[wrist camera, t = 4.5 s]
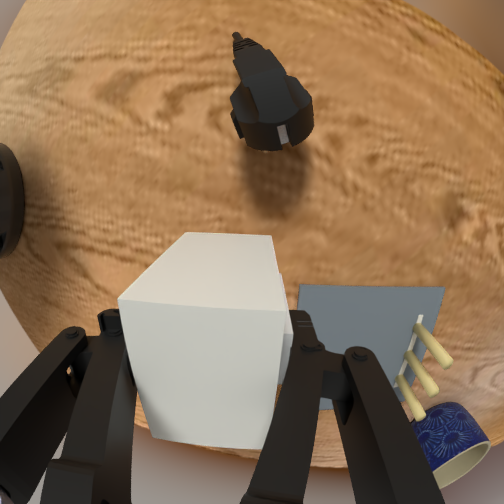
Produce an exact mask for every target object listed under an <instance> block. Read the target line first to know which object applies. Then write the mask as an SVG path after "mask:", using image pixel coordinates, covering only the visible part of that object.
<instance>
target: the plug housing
mask: <svg viewBox="0 0 504 504" xmlns="http://www.w3.org/2000/svg"><path fill="white" fill-rule="evenodd" d="M118 306H119V311H120V317H121V322H122V328H123V333H124V337H125V342H126V347H127V351H128V355H129V360H130V364H131V368H132V372H133V376H134V379H135V383H136V387H137V390H138V394H139V397H140V400H141V404H142V407H143V410H144V413H145V416H146V419H147V422H148V425H149V428H150V431H151V433H152V437H153V438H158V439H164V440H169V441H176V442H181V443H188V444H195V445H204V446H213V447H224V448H238V449H262V448H263V445H264V442H265V439H266V436H267V433H268V430H269V427H270V424H271V421H272V418H273V411H274V404H275V397H276V390H277V382H278V375H279V367H280V359H281V351H282V343H283V334H284V325H285V316H286V308H285V303H284V297H283V292H282V287H281V282H280V277H279V271H278V266H277V261H276V256H275V251H274V246H273V241H272V236H270V235H248V234H224V233H197V232H185V233H184V234H183V235H182V236H181V237H180V238H179V239H178V240H177V241H176V242H175V243H174V244H173V245H172V246H170V247H169V248H168V249H167V250H166V251H165V252H164V253H163V254H162V255H161V256H160V257H159V258H158V259H157V260H156V261H155V262H154V263H153V264H152V265H151V266H150V267H149V268H148V269H146V270H145V271H144V272H143V273H142V274H141V275H140V276H139V277H138V278H137V279H136V280H135V281H134V282H133V283H132V284H131V285H130V286H129V287H128V288H127V289H126V290H125V291H124V292H123V293H122V294H121V295H120V297H119V298H118Z"/></svg>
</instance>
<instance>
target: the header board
mask: <svg viewBox="0 0 504 504" xmlns="http://www.w3.org/2000/svg"><path fill="white" fill-rule="evenodd" d="M444 292H445V287H382V286H336V285H305V284H300V285H299V295H298V304H297V310H305V311H306V312H307V313H308V314H309V315H310V317H311V320H312V323H313V326H314V329H315V332H316V335H317V338H318V341H320V342H322V343H323V344H324V345H325V350H327V351H330V352H333V353H338V354H344V352H345V351H346V349H348V348H349V347H353V346H362V347H365V348H368V349H370V350H371V351H372V352H373V353H374V354H375V356H376V357H377V359H378V361H379V363H380V365H381V367H382V369H383V370H384V372H385V374H386V376H387V378H388V380H389V382H390V384H391V386H392V388H393V390H394V392H395V393H396V395H397V397H398V399H399V401H400V402H402V401H405V400H406V402H407V404H408V406H409V408H410V410H411V412H412V414H413V415H414V417H415V419H416V421H421V420H423V419H424V418H425V417H426V413H425V411H424V410H423V408H422V406H421V404H420V402H419V401H418V399H417V397H416V395H415V394H414V392H413V390H412V388H411V386H412V383H413V381H414V379H415V377H416V376H417V378H418V380H419V381H420V383H421V384H422V386H423V387H424V389H425V391H426V392H427V394H428V396H429V397H430V398H432V397H435V396H436V395H437V394H438V393H439V388H438V386H437V385H436V383H435V382H434V381H433V379H432V378H431V376H430V375H429V373H428V372H427V370H426V369H425V368H424V366H423V365H422V363H421V362H422V359H423V357H424V354H425V352H426V349H428V350H429V351H430V352H431V354H432V355H433V356H434V358H435V359H436V360H437V361H438V363H439V364H440V365H441V367H442V368H443V369H448V368H449V367H450V366H451V365H452V364H453V359H452V358H451V357H450V355H449V354H448V353H447V352H446V351H445V350H444V348H443V347H442V346H441V345H440V344H439V343H438V342H437V340H436V339H435V338H434V337H433V336H432V332H433V329H434V326H435V323H436V320H437V316H438V313H439V310H440V306H441V303H442V299H443V296H444ZM327 409H334V408H333V404H332V399H326V398H320V406H319V410H327Z"/></svg>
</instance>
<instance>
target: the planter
mask: <svg viewBox="0 0 504 504" xmlns="http://www.w3.org/2000/svg"><path fill="white" fill-rule="evenodd" d="M425 413H426V417H425V418H424V419H423V420H421V421H416V419H415V420H414V421H413V422H412V423H411V426H412V428H413V430H414V432H415V434H416V436H417V439H418V441H419V443H420V445H421V447H422V449H423V452H424V454H425V456H426V458H427V461H428V463H429V465H430V467H431V470H432V472H433V474H434V477H435V479H436V482H437V484H438V486H439V489H441V488H443V487H445V486H447V485H449V484H451V483H452V482H454V481H456V480H457V479H459V478H460V477H462V476H463V475H465V474H466V473H467V472H468V471H470V470H471V469H472V468H473V467H474V466H475V465H477V464H478V463H479V462H480V461H481V460H482V459H483V457H484V456H485V455H486V454H487V452H488V450H489V449H490V446H491V442H490V441H489V439H488V438H487V436H486V435H485V433H484V432H483V430H482V429H481V428H480V426H479V425H478V424H477V422H476V421H475V419H474V418H473V417H472V416H471V414H470V413H469V412H468V411H467V410H466V409H465V408H464V407H463V406H462V405H460V404H458V403H455V402H446V403H442V404H439V405H436V406H434V407H432V408H430V409H429V410H427V411H425Z"/></svg>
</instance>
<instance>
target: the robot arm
mask: <svg viewBox="0 0 504 504" xmlns="http://www.w3.org/2000/svg"><path fill="white" fill-rule="evenodd" d="M23 214H24V193H23V183H22V177H21V173H20V169H19V166H18V163H17V160H16V158H15V156H14V154H13V152H12V151H11V150H10V149H9V148H8V147H7V146H6V145H4V144H2V143H0V259H1V258H3V257H5V256H7V255H9V254H10V253H11V252H12V251H13V250H14V248H15V246H16V244H17V242H18V240H19V237H20V233H21V229H22V223H23ZM279 277H280V282H281V287H282V292H283V297H284V303H285V308H286V316H285V325H284V334H283V343H282V351H281V359H280V367H279V375H278V382H277V384H282V388H281V391H280V395H279V398H278V401H277V405H276V408H275V411H274V414H273V418H272V421H271V424H270V427H269V430H268V433H267V436H266V439H265V442H264V445H263V448H262V451H261V454H260V457H259V460H258V463H257V466H256V469H255V471H254V474H253V477H252V479H251V482H250V485H249V488H248V490H247V492H246V493H245V494H244V496H243V497H242V499H241V502H240V504H303V498H304V494H305V489H306V484H307V479H308V474H309V468H310V464H311V458H312V452H313V446H314V440H315V434H316V427H317V421H318V413H319V406H320V398H326V399H332V404H333V408H334V412H335V416H336V420H337V424H338V428H339V432H340V436H341V440H342V444H343V448H344V452H345V456H346V460H347V465H348V469H349V473H350V478H351V482H352V487H353V491H354V496H355V501H356V504H445V502H444V499H443V496H442V494H441V491H440V489H439V486H438V484H437V482H436V479H435V477H434V474H433V472H432V470H431V467H430V465H429V463H428V461H427V458H426V456H425V454H424V452H423V449H422V447H421V445H420V443H419V441H418V439H417V436H416V434H415V432H414V430H413V428H412V426H411V424H410V422H409V420H408V418H407V415H406V413H405V411H404V409H403V407H402V405H401V403H400V401H399V399H398V397H397V395H396V393H395V392H394V390H393V388H392V386H391V384H390V382H389V380H388V378H387V376H386V374H385V372H384V370H383V369H382V367H381V365H380V363H379V361H378V359H377V357H376V356H375V354H374V353H373V352H372V351H371V350H370V349H368V348H365V347H362V346H353V347H349V348H348V349H346V351H345V352H344V354H338V353H333V352H330V351H327V350H325V345H324V344H323V343H322V342H320V341H318V338H317V335H316V332H315V329H314V326H313V323H312V320H311V317H310V315H309V314H308V313H307V312H306V311H305V310H288V305H287V300H286V295H285V290H284V285H283V281H282V276H281V273H279ZM97 317H98V321H99V326H100V330H101V333H100V336H86V333H85V330H84V329H83V328H81V327H75V326H72V327H69V328H66V329H64V330H63V331H62V332H61V333H60V334H59V335H58V336H57V337H56V338H55V339H54V340H53V341H52V342H51V343H50V344H49V345H48V346H47V347H46V348H45V349H44V350H43V351H42V352H41V353H40V354H39V355H38V356H37V357H36V358H35V359H34V361H33V362H32V363H31V364H30V365H29V366H28V367H27V368H26V369H25V370H24V371H23V372H22V373H21V375H20V376H19V377H18V378H17V379H16V380H15V381H14V382H13V384H12V385H11V386H10V387H9V388H8V389H7V390H6V392H5V393H4V394H3V395H2V396H1V398H0V504H27V503H28V501H29V500H30V498H31V496H32V495H33V493H34V492H35V489H36V488H37V486H38V484H39V482H40V480H41V478H42V476H43V474H44V472H45V470H46V468H47V470H46V475H45V479H44V484H43V489H42V494H41V501H40V504H132V503H131V463H132V444H133V429H134V417H135V407H136V397H137V387H136V383H135V379H134V376H133V372H132V368H131V364H130V360H129V355H128V351H127V347H126V342H125V337H124V333H123V328H122V322H121V317H120V311H119V309H108V310H104V311H102V312H101V313H99V314H98V316H97ZM68 367H70V369H71V372H70V374H67V369H68ZM66 432H67V434H66ZM65 434H66V438H65V442H64V446H63V450H62V454H61V457H60V458H59V459H52V457H53V455H54V454H55V452H56V450H57V448H58V446H59V445H60V443H61V441H62V439H63V438H64V436H65ZM51 459H52V460H51Z"/></svg>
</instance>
